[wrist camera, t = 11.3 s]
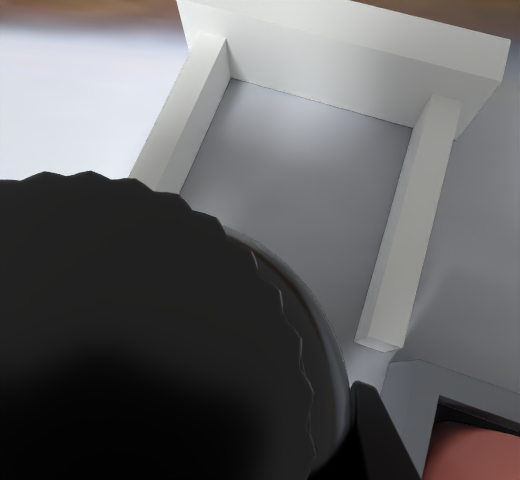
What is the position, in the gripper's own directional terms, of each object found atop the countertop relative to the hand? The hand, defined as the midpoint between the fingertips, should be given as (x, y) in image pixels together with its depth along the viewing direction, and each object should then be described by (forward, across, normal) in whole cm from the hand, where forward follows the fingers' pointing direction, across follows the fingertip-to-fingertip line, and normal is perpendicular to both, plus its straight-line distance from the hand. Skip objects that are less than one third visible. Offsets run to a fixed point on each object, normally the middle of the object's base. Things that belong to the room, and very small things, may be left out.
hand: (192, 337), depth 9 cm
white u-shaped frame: (+11, 0, 0) cm, 11 cm away
